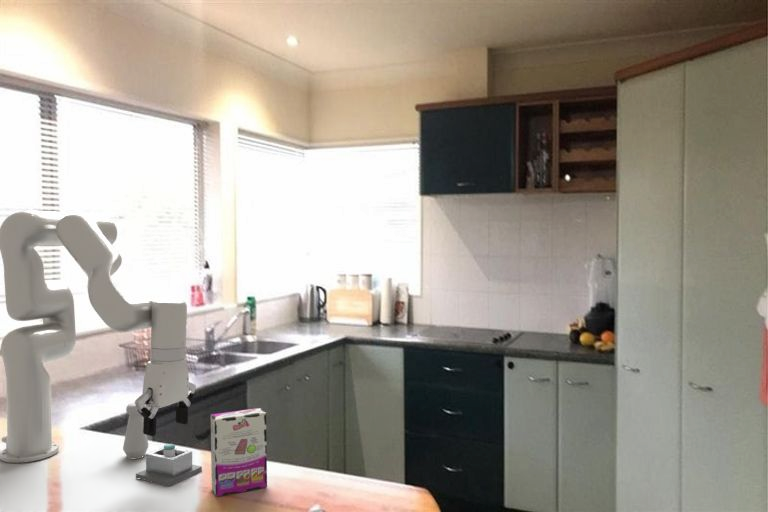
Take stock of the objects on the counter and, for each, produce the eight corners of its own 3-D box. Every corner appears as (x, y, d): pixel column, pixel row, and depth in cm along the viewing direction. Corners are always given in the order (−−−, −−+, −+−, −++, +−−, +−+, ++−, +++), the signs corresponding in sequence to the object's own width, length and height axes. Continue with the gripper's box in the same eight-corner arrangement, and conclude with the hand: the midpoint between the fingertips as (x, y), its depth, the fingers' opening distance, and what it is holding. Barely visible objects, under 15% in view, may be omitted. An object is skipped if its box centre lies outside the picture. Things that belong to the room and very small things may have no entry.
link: (146, 471, 141) (146, 454, 140) (165, 462, 146) (165, 445, 146) (173, 477, 137) (172, 459, 137) (192, 468, 143) (192, 451, 142)
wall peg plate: (135, 478, 139) (135, 448, 139) (169, 463, 148) (169, 436, 148) (169, 486, 135) (169, 456, 135) (201, 470, 144) (201, 442, 144)
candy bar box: (261, 479, 139) (261, 406, 138) (267, 487, 134) (267, 412, 134) (210, 488, 134) (209, 413, 133) (215, 497, 129) (215, 419, 129)
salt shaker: (139, 461, 150) (139, 407, 149) (118, 459, 151) (117, 406, 150) (153, 452, 155) (152, 401, 155) (132, 451, 156) (132, 399, 156)
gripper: (183, 346, 150) (181, 416, 151) (125, 358, 135) (123, 436, 135) (207, 350, 147) (205, 421, 148) (150, 363, 131) (148, 443, 132)
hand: (166, 428), depth 141 cm, fingers open, 9 cm apart
